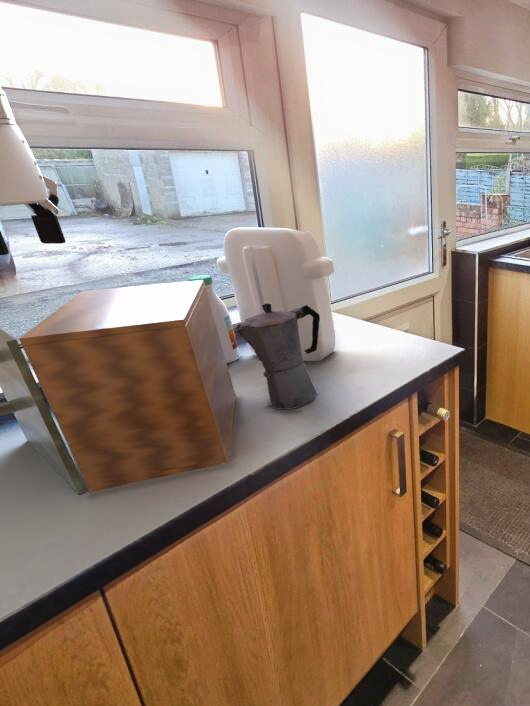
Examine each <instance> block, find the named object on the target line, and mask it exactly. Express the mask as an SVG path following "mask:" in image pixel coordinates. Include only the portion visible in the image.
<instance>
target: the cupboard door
mask: <svg viewBox="0 0 530 706" xmlns="http://www.w3.org/2000/svg"><path fill="white" fill-rule="evenodd" d="M0 389H1V391H2V393H3V395H4V397H5V399H6V401H4V402H0V417H4V416H7V415H10V414H13V415H14V417H15V419H16V421H17V424H18V425H19V427H20V429H21V431H22V433H23V435H24V437H25V439H26V441H27V442H28V443H29V445H31V446H32V447H33V449H34V450H35V451H37V452H38V454H39V455H40V456H41V457H42V458H43V459H44V460H45V461H46V462H47V463H48V464H49V465H50V466H51V468H52V469H54V471H55V472H56V473H57V474H58V475H60V476H59V477H61V478H62V479H63V480H64V481H65V482H66V483H67V484H68V485H69V486H70V487H71V488H72V489H73V490H74V492H76V494H77V495H78V496H80V495H82V494H85V493H87V492H88V490H87V488H86V485H85V484H84V481H83V479H82V477H81V476H80V473H79V471H78V469H77V467H76V464H75V463H74V460H73V458H72V456H71V453H70V451H69V450H68V446H67V445H66V443H65V441H64V439H63V436H62V435H61V432H60V430H59V428H58V426H57V424H56V422H55V419H54V417H53V415H52V413H51V411H50V408H49V407H48V405H47V402H46V400H45V398H44V395H43V394H42V391H41V389H40V387H39V384H38V383H37V380H36V377H35V376H34V375H33V372H32V369H31V368H30V366H29V363H28V361H27V359H26V357H25V354H24V353H23V350H22V348H21V346H20V344H19V342H18V340H17V339H16V338H15V337H13V336H12V335H11V334H9V333H8V332H6V331H5V330H3V329H2V328H1V327H0Z"/></svg>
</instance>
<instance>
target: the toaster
mask: <svg viewBox="0 0 530 706" xmlns="http://www.w3.org/2000/svg"><path fill="white" fill-rule="evenodd" d="M216 266H217V269H218V271H219V272H218V273H219V274H222V275H224V276H228V277H229V280H230V281H229V282H230V284H231V288H232V292H233V296H234V299H235V303H236V307H237V312H238V316H239V319H240V324H241V323H243V322H245V319H248V318H250V317H253V316H256V315H258V314H261V313H265V311H264V310H263V308H262V305H263V304H266V303H268V304H271V310H272V311H279V310H284V311H291V310H293V309H297V308H298V309H300V308H301V307H303V306H305V305H307V306H308V307H311V309H312V310H315V312H317V313H318V314H319V315H320V321H319V330H318V343H317V350H316V351H314V352H311V353H308V354H306V352H305V349H309V348H310V347H311V345H312V340H313V338H312V331H313V330H312V328H313V325H312V323H313V317H312V316H311V315H306V316H305V317H303V318H300V319H298V320H297V322H298V330H299V337H300V344H301V352H302V357H303V361H306V362H307V361H308V362H319V361H322V360H323V359H325V358H327V356H330V355H331V354H332V353H333V352H334V351H335V347H336V332H335V326H334V319H333V313H332V308H331V303H330V296H329V290H328V284H327V279H326V278H328V277H330V276H331V275H333V274H335V265H334V261H333V259H331V258H330V257H328V256H323V255H322V252H321V248H320V246H319V244H318V241H317V240H316V238H315V236H314V234H313V233H312V232H311V231H310V230H308V229H307V230H298V229H294V228H288V227H256V226H255V227H253V226H250V227H249V226H247V227H246V226H240V227H233V228H232V229H229V230H228V231H227V232H226V233H225V234H224V237H223V256H222V255H221V256H219V257H218V258H217V260H216ZM246 343H247V342H246ZM247 346H248V348H249V349H250V352H251V353H252V354H253V355H254V356H255V357H257V355H256V353H255V351H254V349H253V348H252V347H251V346H250V345H249V344H248V343H247Z"/></svg>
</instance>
